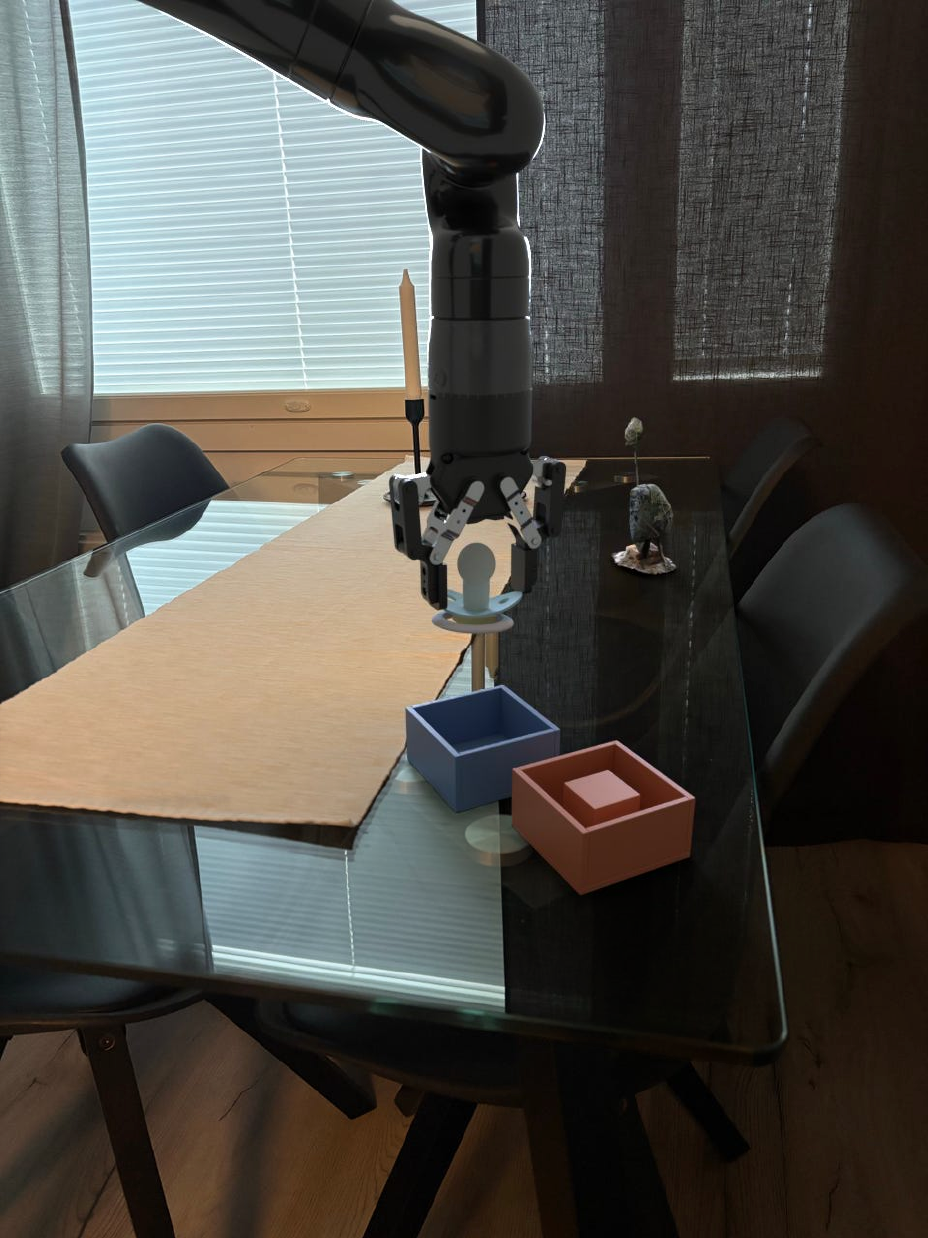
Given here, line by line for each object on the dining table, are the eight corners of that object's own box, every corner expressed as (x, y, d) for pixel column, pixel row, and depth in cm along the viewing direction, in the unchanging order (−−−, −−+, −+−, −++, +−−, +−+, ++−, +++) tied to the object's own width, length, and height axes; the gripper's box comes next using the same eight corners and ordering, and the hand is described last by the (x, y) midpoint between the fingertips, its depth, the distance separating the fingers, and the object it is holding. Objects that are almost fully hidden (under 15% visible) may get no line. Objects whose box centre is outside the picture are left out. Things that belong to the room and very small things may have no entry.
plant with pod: (623, 581, 125) (632, 428, 117) (607, 555, 135) (615, 412, 128) (684, 580, 125) (697, 427, 118) (664, 554, 136) (675, 412, 128)
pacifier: (515, 643, 72) (523, 612, 77) (517, 564, 69) (526, 538, 75) (420, 636, 73) (435, 606, 78) (419, 559, 70) (434, 533, 76)
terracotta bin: (580, 895, 65) (583, 834, 63) (511, 825, 73) (512, 768, 71) (690, 857, 69) (695, 797, 67) (613, 794, 77) (616, 739, 75)
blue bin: (455, 813, 75) (455, 757, 73) (406, 758, 83) (405, 707, 81) (558, 783, 79) (560, 729, 77) (502, 734, 87) (503, 684, 85)
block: (592, 857, 68) (594, 809, 67) (561, 829, 72) (563, 782, 70) (637, 841, 70) (640, 794, 69) (605, 814, 73) (608, 769, 72)
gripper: (538, 370, 75) (534, 571, 81) (367, 383, 69) (376, 599, 75) (593, 382, 68) (583, 598, 75) (409, 397, 62) (415, 631, 68)
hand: (479, 598), depth 75 cm, fingers closed on pacifier, 7 cm apart
